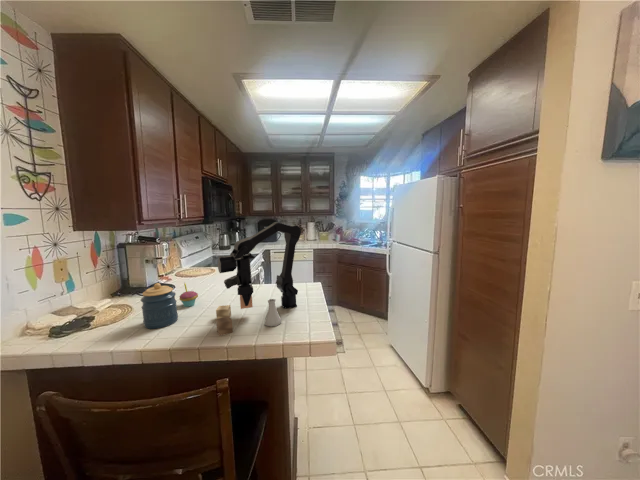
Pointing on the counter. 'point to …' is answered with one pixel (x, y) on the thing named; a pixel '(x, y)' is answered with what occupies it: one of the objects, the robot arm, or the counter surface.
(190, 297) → the cupcake
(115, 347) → the counter surface
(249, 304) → the terracotta block
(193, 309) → the counter surface
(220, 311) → the maple block
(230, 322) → the walnut block
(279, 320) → the flask
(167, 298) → the canister
